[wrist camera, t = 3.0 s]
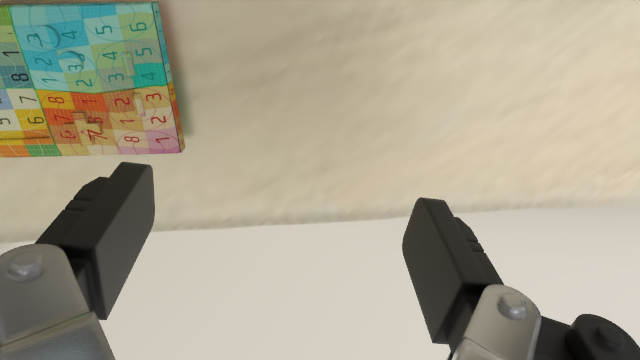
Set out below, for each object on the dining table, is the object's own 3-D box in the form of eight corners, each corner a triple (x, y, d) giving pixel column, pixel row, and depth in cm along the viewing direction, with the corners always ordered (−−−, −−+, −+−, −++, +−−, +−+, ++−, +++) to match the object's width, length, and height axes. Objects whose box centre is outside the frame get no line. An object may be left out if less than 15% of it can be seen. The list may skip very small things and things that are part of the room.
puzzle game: (178, 157, 33) (-67, 163, 33) (192, 136, 37) (-25, 142, 37) (147, 3, 28) (-147, 9, 27) (167, -1, 32) (-87, 4, 31)
